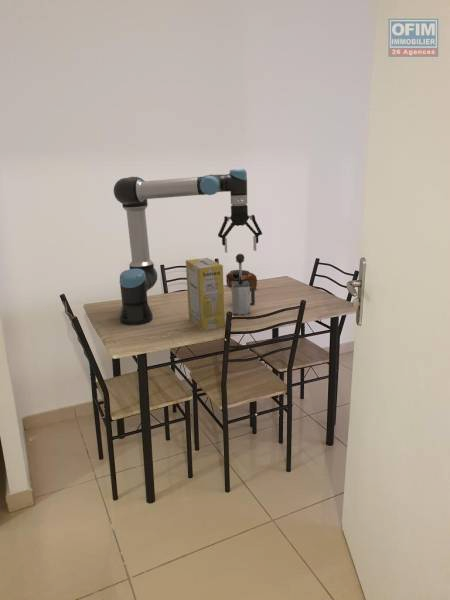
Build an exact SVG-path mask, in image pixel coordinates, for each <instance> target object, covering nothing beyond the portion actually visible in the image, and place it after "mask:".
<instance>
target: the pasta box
mask: <svg viewBox="0 0 450 600" xmlns="http://www.w3.org/2000/svg"><path fill="white" fill-rule="evenodd" d="M185 271H186V287H187V290H186V291H187V304H188V305H187V307H188V320H190V321H191V322H192V323H193V324H195V325H196V326H197V327H198V328H199V329H200V330H201V331H203V332H204V331H209V330H214V329H219V328H225V327H226V322H225V319H226V317H225V295H224V294H225V293H224V291H225V290H224V265H223V264H221V263H219V262H217V261H215V260H212V258H211V259H210V258H208V257H203V258H201V257H200V258H194V259H186V260H185Z"/></svg>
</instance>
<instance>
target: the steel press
mask: <svg viewBox="0 0 450 600" xmlns="http://www.w3.org/2000/svg"><path fill="white" fill-rule="evenodd" d="M250 290H251V291H250ZM255 290H256V289H255V288H254V287H250V284H249V282H248V281H247V280H245V281H242V283H241V284H239V281H232V288H231V301H232V302H231V306H232V311H231V312H232V315H234V316H242V317H243V316H247V315H251V306H256V304H255V303H256V301H255V300H256V299H255Z"/></svg>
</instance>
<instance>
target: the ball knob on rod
mask: <svg viewBox="0 0 450 600" xmlns="http://www.w3.org/2000/svg"><path fill="white" fill-rule="evenodd" d="M236 260H237V261H238V262H237V263H238V270H239V284H241V283H242V270H243V267H242V265H243V261H244V262H245V256H244V254H243V253H238V254H236V256H235V261H236Z"/></svg>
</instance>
